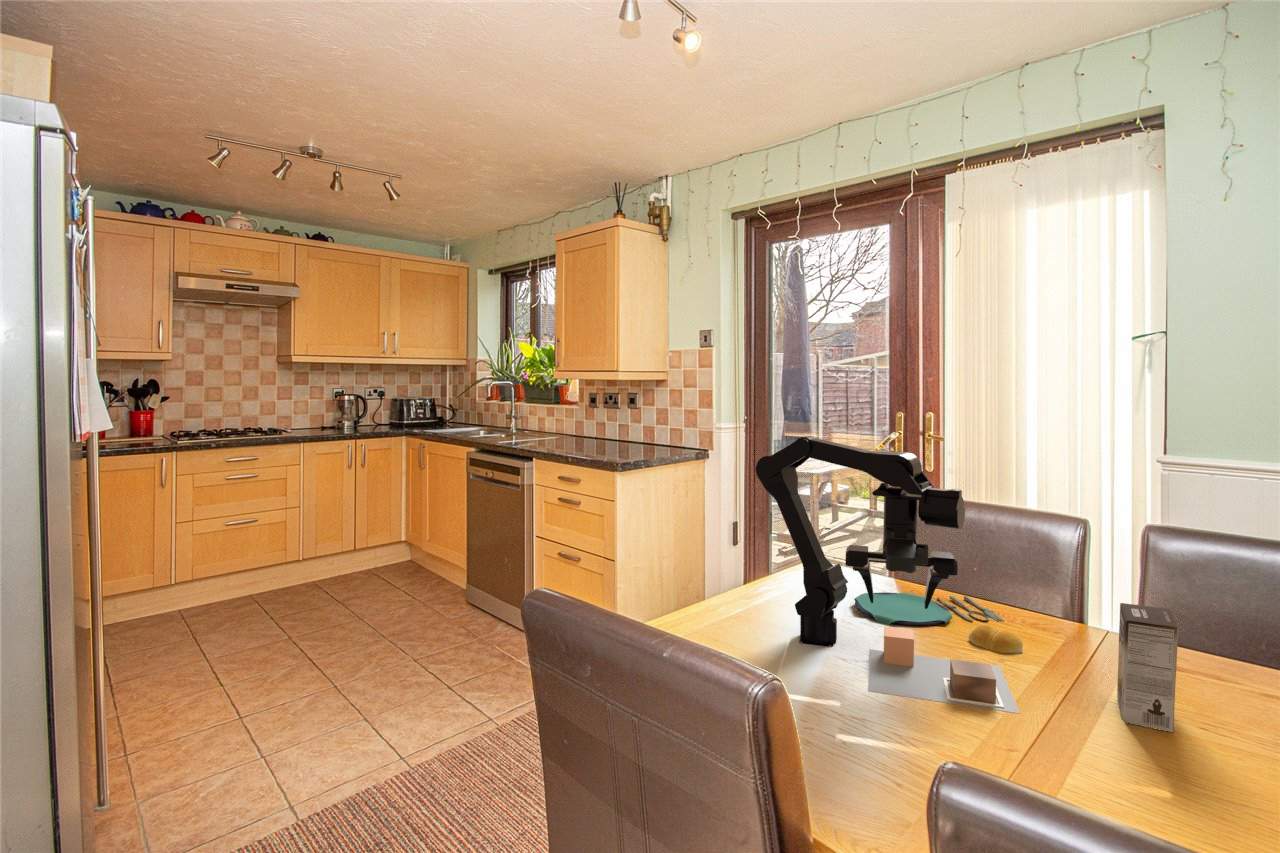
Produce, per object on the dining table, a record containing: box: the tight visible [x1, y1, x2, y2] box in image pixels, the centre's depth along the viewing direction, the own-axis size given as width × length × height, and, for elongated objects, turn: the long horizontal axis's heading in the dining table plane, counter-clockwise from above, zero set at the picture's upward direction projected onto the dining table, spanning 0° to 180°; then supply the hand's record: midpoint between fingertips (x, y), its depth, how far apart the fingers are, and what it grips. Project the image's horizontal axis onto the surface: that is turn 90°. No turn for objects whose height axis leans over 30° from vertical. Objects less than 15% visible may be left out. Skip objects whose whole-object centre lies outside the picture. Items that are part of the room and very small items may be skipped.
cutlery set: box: [853, 591, 1005, 626], centre depth 144 cm, size 20×30×2 cm, turn 92°
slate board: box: [867, 649, 1021, 714], centre depth 111 cm, size 22×18×1 cm
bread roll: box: [968, 624, 1024, 655], centre depth 125 cm, size 8×9×4 cm
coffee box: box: [1116, 602, 1179, 733], centre depth 98 cm, size 9×6×16 cm
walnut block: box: [949, 658, 996, 704], centre depth 105 cm, size 6×6×4 cm
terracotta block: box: [883, 625, 915, 667], centre depth 118 cm, size 5×5×5 cm
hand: (898, 605), depth 118 cm, fingers open, 9 cm apart
